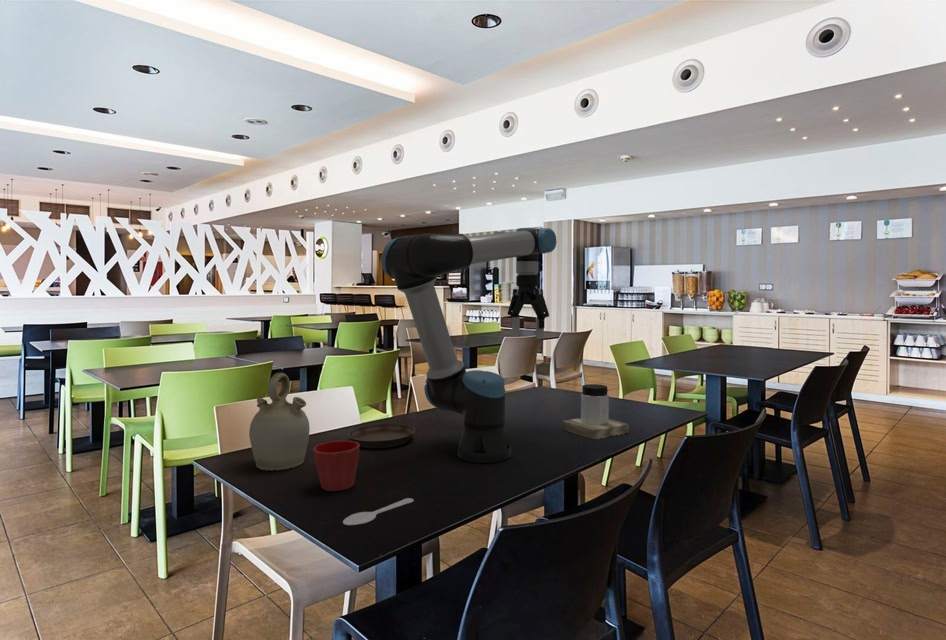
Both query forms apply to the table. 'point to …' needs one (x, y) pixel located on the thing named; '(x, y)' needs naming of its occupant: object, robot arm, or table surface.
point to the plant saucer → (381, 435)
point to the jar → (594, 404)
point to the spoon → (372, 513)
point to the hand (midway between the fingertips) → (527, 337)
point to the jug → (279, 429)
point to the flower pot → (337, 464)
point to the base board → (595, 428)
